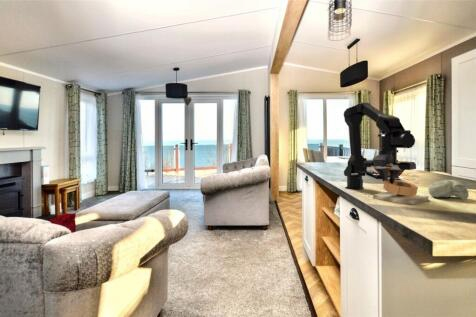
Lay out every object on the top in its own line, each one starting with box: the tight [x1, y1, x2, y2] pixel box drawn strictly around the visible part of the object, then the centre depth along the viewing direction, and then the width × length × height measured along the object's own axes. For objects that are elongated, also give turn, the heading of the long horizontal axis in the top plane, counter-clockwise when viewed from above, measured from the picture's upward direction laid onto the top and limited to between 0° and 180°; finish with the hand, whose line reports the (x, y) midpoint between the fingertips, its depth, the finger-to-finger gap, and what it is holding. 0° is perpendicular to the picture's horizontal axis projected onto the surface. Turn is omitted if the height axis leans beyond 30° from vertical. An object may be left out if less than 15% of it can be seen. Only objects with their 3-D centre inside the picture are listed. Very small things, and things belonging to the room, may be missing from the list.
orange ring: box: [382, 179, 419, 196], centre depth 112 cm, size 11×11×3 cm
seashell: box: [428, 179, 470, 200], centre depth 113 cm, size 13×8×10 cm
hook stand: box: [372, 182, 429, 206], centre depth 112 cm, size 15×13×7 cm
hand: (388, 185), depth 116 cm, fingers closed on orange ring, 2 cm apart
